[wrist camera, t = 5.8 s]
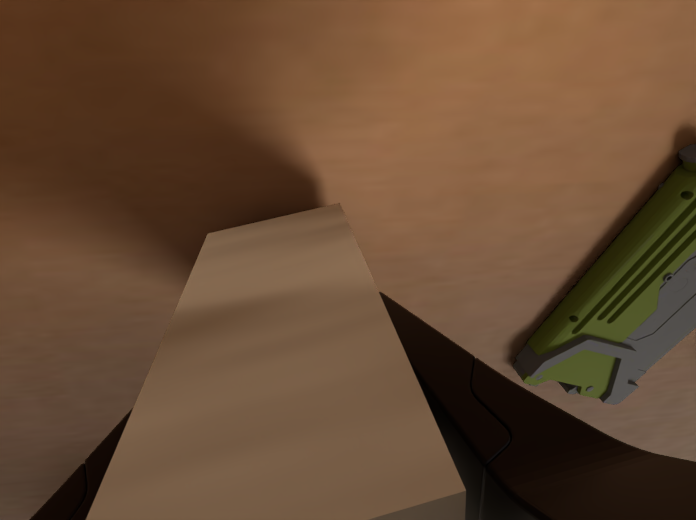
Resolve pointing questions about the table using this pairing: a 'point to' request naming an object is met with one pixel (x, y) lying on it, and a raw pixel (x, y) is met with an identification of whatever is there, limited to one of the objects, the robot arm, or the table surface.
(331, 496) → the wooden l-shaped block
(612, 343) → the gun
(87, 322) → the table surface
